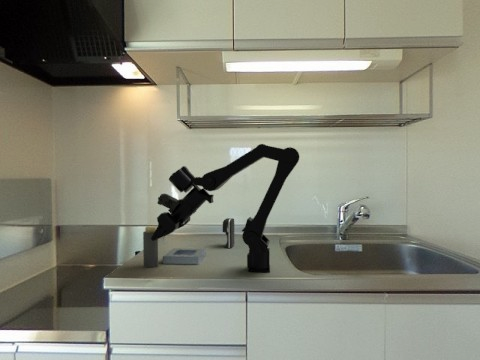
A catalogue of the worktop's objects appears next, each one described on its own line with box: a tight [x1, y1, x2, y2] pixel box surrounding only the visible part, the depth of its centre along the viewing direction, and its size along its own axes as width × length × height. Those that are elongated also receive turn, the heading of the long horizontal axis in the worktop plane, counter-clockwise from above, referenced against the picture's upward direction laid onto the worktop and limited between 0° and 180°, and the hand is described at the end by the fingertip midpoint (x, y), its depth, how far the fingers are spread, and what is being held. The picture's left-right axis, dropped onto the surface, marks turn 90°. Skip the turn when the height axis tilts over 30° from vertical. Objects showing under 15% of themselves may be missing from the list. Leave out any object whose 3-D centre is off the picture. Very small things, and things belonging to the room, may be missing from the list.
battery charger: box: [222, 217, 235, 249], centre depth 139 cm, size 7×4×11 cm, turn 170°
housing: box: [162, 247, 207, 266], centre depth 118 cm, size 12×12×2 cm
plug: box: [142, 226, 159, 269], centre depth 110 cm, size 4×4×12 cm
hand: (157, 237), depth 110 cm, fingers open, 9 cm apart
